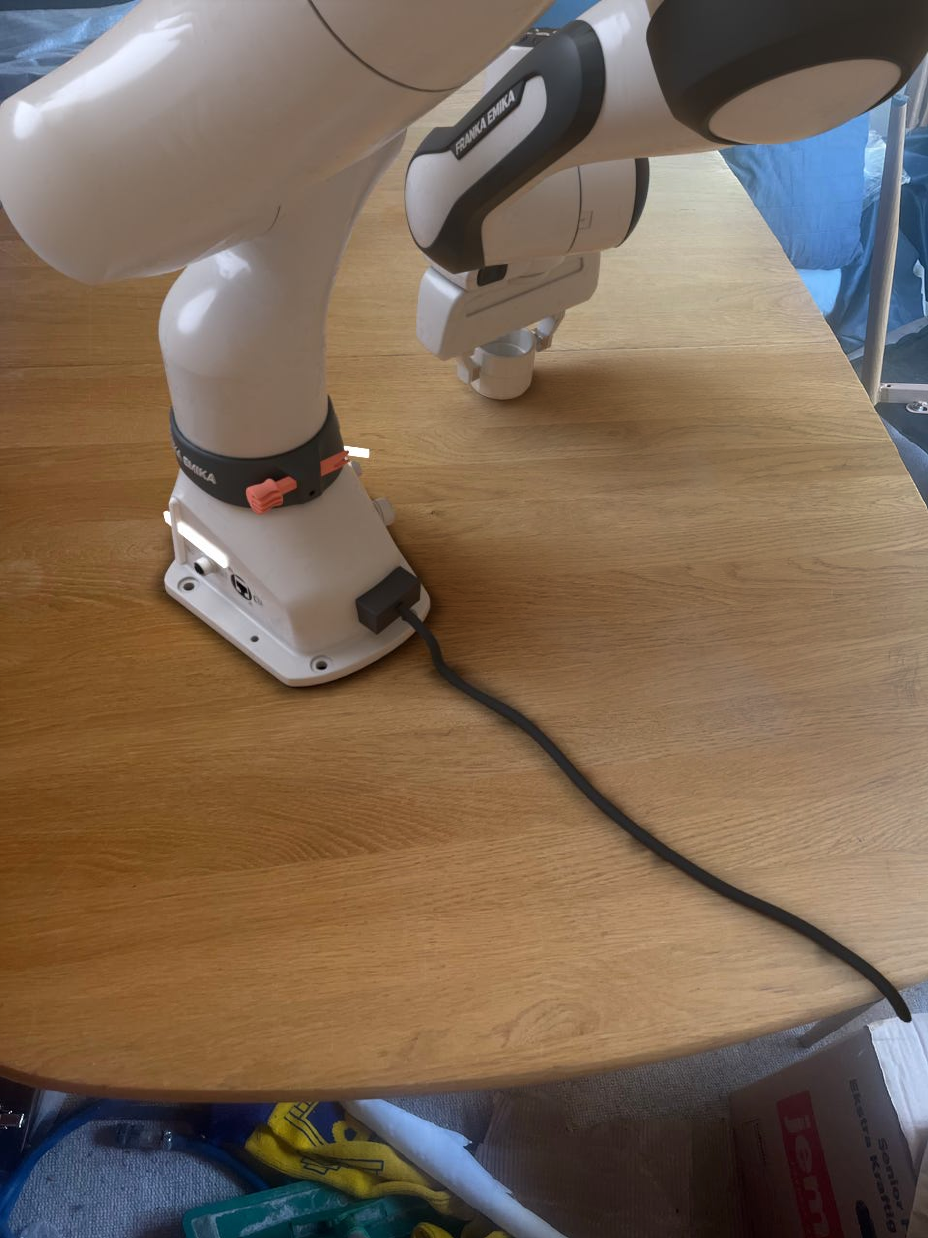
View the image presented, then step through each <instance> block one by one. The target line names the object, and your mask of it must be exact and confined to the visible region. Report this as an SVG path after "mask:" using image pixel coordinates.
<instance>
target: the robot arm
mask: <svg viewBox="0 0 928 1238" xmlns="http://www.w3.org/2000/svg"><path fill="white" fill-rule="evenodd" d="M557 1H558V0H141V1H140V2H138V4H137V5H135V6H134V7H133V8H132V9H130V11H128V12H127V13H126V14H124V16H122V17H121V18H120V19H119V20H118V21H117V22H115V23H114V24H113V25H112V26H111V27H110V28H109V29H108V30H106V31H105V32H104V33H102V34H101V35H100V36H99V37H97V38H96V39H95V40H94V41H92V42H91V43H89V45H87V46H86V47H84V49H82V50H81V51H80V52H79V53H77V54H75V56H73V57H72V58H70V59H69V60H67V61H66V62H65V63H63V64H61V65H60V66H58V67H56V68H55V69H53V70H52V71H50V72H48V73H46V75H44V76H42V77H40V78H39V79H37V80H35V81H34V82H32V83H30V84H28V85H27V86H25V87H24V88H22V89H20V90H19V91H17V92H16V93H14V94H13V95H10V96H9V97H7V98H6V99H5V100H3V102H1V104H0V203H1V205H2V208H3V209H4V211H5V214H6V215H7V217H8V219H9V221H10V222H11V225H12V226H13V228H14V229H15V230H16V232H17V233H18V235H19V236H20V237H21V239H22V240H23V241H24V243H26V245H27V246H28V247H29V248H30V249H31V250H32V251H33V252H34V253H35V254H36V255H37V256H38V257H39V258H40V259H42V261H44V262H45V263H46V264H48V265H49V266H50V267H51V268H53V269H54V270H56V271H57V272H59V273H60V274H62V275H64V276H66V277H67V278H69V279H71V280H73V281H75V282H78V283H80V284H83V285H85V286H90V287H95V286H103V285H110V284H116V283H117V284H118V283H123V282H129V281H135V280H141V279H145V278H150V277H151V278H152V277H157V276H160V275H166V274H170V273H173V272H174V273H175V272H176V271H179V270H182V269H183V271H182V272H181V273H180V275H179V276H178V277H177V279H176V280H175V281H174V283H173V284H172V286H171V288H170V289H169V290H168V292H167V294H166V296H165V298H164V300H163V303H162V306H161V309H160V313H159V319H158V335H157V337H158V342H159V348H160V351H161V357H162V362H163V366H164V371H165V376H166V381H167V387H168V391H169V395H170V400H171V406H170V408H169V434H170V441H171V446H172V448H173V451H174V453H175V459H176V462H177V464H178V466H179V470H178V474H177V476H176V477H177V478H176V481H175V484H174V487H173V490H172V492H171V495H170V498H169V502H168V510H166V511H164V512H163V516H164V520H165V522H166V523H167V524H168V525H169V526H170V527H171V534H172V535H171V536H172V543H173V550H174V557H175V558H174V560H173V561H172V562H171V564H170V566H169V568H168V569H167V571H166V572H165V575H164V578H163V579H164V581H163V582H164V588H165V589H164V590H165V591H166V593H167V594H168V595H169V596H170V597H171V598H173V599H174V600H175V601H177V602H178V603H179V604H180V605H182V606H183V607H184V608H185V609H187V611H189V612H191V613H192V614H193V615H194V616H196V617H197V618H198V619H200V620H201V621H202V622H203V623H205V624H206V625H207V626H208V627H210V628H211V629H213V630H214V631H215V632H216V633H218V634H219V635H220V636H221V637H223V638H224V639H225V640H226V641H228V642H229V643H231V644H232V645H233V646H234V647H236V648H237V649H238V650H240V651H241V652H242V653H244V654H245V655H246V656H247V657H249V658H250V659H251V660H252V661H254V662H255V663H256V664H257V665H259V666H260V667H262V668H263V670H265V671H266V672H267V673H269V674H270V675H272V676H273V677H275V678H276V679H277V680H278V681H280V682H281V683H283V684H284V685H286V686H288V687H292V688H293V687H309V686H316V685H321V684H325V683H328V682H332V681H336V680H338V679H340V678H344V677H347V676H349V675H351V674H353V673H355V672H357V671H359V670H361V669H364V668H365V667H367V666H369V665H371V664H373V663H374V662H375V663H376V662H377V661H378V660H380V659H381V658H383V657H385V656H386V655H388V654H389V653H391V652H392V651H394V650H395V649H397V648H398V647H399V646H400V645H402V644H403V643H405V642H406V641H407V640H408V639H409V638H410V637H411V636H412V635H414V634H415V633H417V634H418V635H419V636H420V637H421V639H422V640H423V642H424V643H425V644H426V646H427V648H428V651H429V653H430V658H431V661H432V663H433V665H434V667H435V669H436V671H437V672H438V673H439V674H440V675H441V676H442V677H443V678H444V679H445V680H446V681H447V682H448V683H449V684H450V685H452V686H453V687H455V688H456V689H458V690H459V691H461V692H462V693H463V694H466V695H467V696H469V697H470V698H472V699H473V700H475V701H477V702H478V703H480V704H482V706H483V705H484V706H485V707H487V708H488V709H490V710H493V711H494V712H496V713H497V714H499V715H502V716H503V717H505V718H507V719H508V720H510V722H512V723H514V724H515V725H516V726H518V727H519V728H520V729H522V730H523V731H524V732H525V733H526V734H527V735H529V736H530V737H531V738H532V739H533V741H535V742H536V743H537V744H538V745H539V746H540V747H541V748H542V749H543V750H544V751H545V752H546V753H547V754H548V755H549V757H550V758H551V759H552V760H553V761H554V762H555V764H556V765H557V766H558V767H559V768H560V769H561V770H562V771H563V773H564V774H565V775H566V776H567V777H568V779H569V780H570V781H571V782H572V783H573V784H574V785H575V786H576V787H577V789H579V790H580V791H581V792H582V794H583V795H585V797H586V798H587V799H589V801H590V802H592V803H593V804H594V805H595V806H596V807H597V808H598V809H599V810H600V811H601V812H602V813H604V814H605V815H606V816H608V818H610V819H611V820H612V821H613V822H614V823H616V824H617V825H618V826H619V827H621V828H622V829H623V830H624V831H626V832H627V833H628V834H630V835H631V836H632V837H633V838H634V839H636V840H637V841H638V842H639V843H641V844H642V845H644V846H645V847H646V848H648V849H649V850H650V851H652V852H654V853H655V854H656V855H658V856H660V857H661V858H662V859H664V860H666V861H667V862H669V863H670V864H671V865H672V866H674V867H676V868H677V869H679V870H680V871H682V872H683V873H685V874H686V875H688V876H690V877H691V878H693V879H694V880H696V881H697V882H700V883H701V884H702V885H704V886H706V887H708V888H709V889H711V890H713V891H714V892H716V893H718V894H720V895H721V896H724V897H725V898H727V899H729V900H732V901H734V902H736V903H737V904H740V905H742V906H744V907H746V908H748V909H751V910H753V911H755V912H756V913H760V914H762V915H763V916H766V917H769V918H770V919H772V920H775V921H777V922H779V923H780V924H783V925H785V926H786V927H789V928H791V929H792V930H794V931H796V932H798V933H800V934H801V935H803V936H804V937H806V938H807V939H810V940H811V941H813V942H814V943H816V944H817V945H819V946H821V947H822V949H825V950H827V952H829V953H831V954H832V955H833V956H835V957H837V958H838V959H840V960H841V961H842V962H844V963H845V964H847V965H849V967H851V968H852V969H854V970H855V971H856V972H858V973H859V974H860V975H862V977H864V978H865V979H867V980H868V982H870V983H871V984H873V986H875V988H876V989H877V990H879V992H880V993H881V995H883V996H884V998H885V999H886V1000H887V1001H888V1003H889V1004H890V1006H891V1007H892V1009H893V1011H894V1013H895V1015H896V1016H897V1017H898V1019H899V1020H900V1021H902V1022H903V1023H905V1024H910V1023H911V1022H912V1021H913V1018H912V1013H911V1011H910V1009H909V1007H908V1005H907V1003H906V1002H905V1000H904V998H903V997H902V995H901V994H900V992H899V991H898V990H897V989H896V987H895V986H894V985H893V984H892V983H891V982H890V981H889V980H888V979H887V978H886V977H885V976H884V975H883V974H882V973H881V972H880V971H879V970H878V969H876V968H875V967H874V966H873V965H872V964H870V962H868V961H866V960H865V959H864V958H862V957H861V956H859V955H858V954H857V953H855V952H854V951H853V950H850V949H849V948H848V947H847V946H845V945H843V944H842V943H841V942H839V941H837V940H836V939H834V938H833V937H832V936H830V935H828V934H827V933H826V932H824V931H822V930H821V929H819V928H818V927H816V926H814V925H813V924H811V923H809V922H807V921H806V920H804V919H803V918H801V917H799V916H797V915H796V914H793V913H791V912H789V911H787V910H785V909H784V908H781V907H779V906H776V905H775V904H772V903H770V902H768V901H766V900H763V899H761V898H759V897H756V896H754V895H752V894H750V893H748V892H746V891H744V890H742V889H739V888H738V887H735V886H733V885H731V884H729V883H727V882H726V881H724V880H722V879H720V878H719V877H716V876H715V875H713V874H711V873H710V872H708V871H707V870H704V869H703V868H702V867H700V866H698V865H697V864H695V863H694V862H692V861H691V860H689V859H687V858H686V857H685V856H684V855H681V854H680V853H678V852H677V851H676V850H673V849H672V848H671V847H669V846H668V845H666V844H665V843H663V842H662V841H660V840H659V839H658V838H656V837H655V836H654V835H652V834H651V833H649V831H647V830H646V829H644V828H642V827H641V826H640V825H639V824H638V823H636V822H635V821H634V820H632V819H631V818H630V817H629V816H627V815H626V814H625V813H624V812H623V811H621V810H620V809H619V808H618V807H616V806H615V805H614V804H613V803H612V802H610V800H608V799H607V798H606V797H605V796H604V795H602V794H601V792H599V790H597V789H596V788H595V787H594V786H593V785H592V784H591V783H590V782H589V781H588V780H587V779H586V777H585V776H584V775H583V774H582V773H581V772H580V771H579V770H578V768H576V767H575V766H574V764H573V763H572V762H571V761H570V759H568V757H567V756H566V755H565V754H564V753H563V751H561V749H560V748H559V747H558V746H557V745H556V744H555V743H554V741H552V739H551V738H549V737H548V736H547V734H545V733H544V732H543V731H542V730H541V729H540V728H539V727H538V726H537V725H536V724H535V723H533V722H532V721H531V720H530V719H528V718H527V717H526V716H525V715H523V714H521V713H520V712H519V711H518V710H516V709H515V708H513V707H511V706H510V705H507V704H506V703H504V702H502V701H500V700H498V699H497V698H495V697H492V696H491V695H488V694H487V693H485V692H483V691H481V690H479V689H478V688H476V687H474V686H472V685H471V684H470V683H468V682H466V681H465V680H463V679H462V678H461V676H459V675H458V674H457V673H455V671H453V670H452V668H451V667H450V666H449V665H448V664H447V663H446V662H445V660H444V658H443V655H442V650H441V647H440V644H439V641H438V639H437V638H436V637H435V635H434V634H433V632H432V631H431V630H430V628H429V627H428V626H427V625H426V624H425V623H424V621H425V620H426V618H427V616H428V614H429V613H430V609H431V597H430V596H429V594H428V592H427V590H426V589H425V587H424V586H423V584H422V580H421V579H420V578H419V577H417V575H416V573H415V572H414V571H413V568H412V567H411V566H410V565H409V563H408V561H407V560H406V558H405V557H404V555H403V553H402V552H401V551H400V549H399V548H398V546H397V544H396V543H395V541H394V539H393V537H392V535H391V534H390V532H389V530H388V528H387V527H388V526H391V525H392V524H393V523H395V519H396V516H395V511H394V507H393V505H392V504H391V502H390V500H389V499H388V498H387V497H384V496H381V497H378V498H375V499H373V500H372V499H371V497H370V494H369V493H368V491H367V490H366V488H365V485H364V484H363V482H362V481H361V479H360V477H362V476H363V468H362V466H361V464H360V462H359V461H358V460H351V461H350V459H349V457H348V456H353V457H360V458H369V457H370V449H369V448H360V447H353V446H346V445H345V444H344V441H343V438H342V437H343V436H342V434H341V433H342V432H341V430H340V429H341V424H340V421H339V418H338V417H339V416H338V415H337V413H336V412H335V408H334V404H333V401H332V399H331V397H330V394H329V393H328V368H327V367H328V360H327V359H328V353H327V352H328V351H327V350H328V349H327V347H328V345H327V343H328V319H329V313H330V305H331V302H332V298H333V292H334V288H335V286H336V281H337V278H338V274H339V271H340V268H341V265H342V262H343V258H344V256H345V253H346V250H347V247H348V245H349V242H350V239H351V237H352V234H353V232H354V229H355V226H356V225H357V223H358V220H359V218H360V215H361V213H362V211H363V209H364V207H365V205H366V203H367V201H368V199H369V198H370V196H371V194H372V193H373V191H374V190H375V188H376V186H377V185H378V184H379V182H380V180H381V179H382V178H383V176H384V175H385V173H386V172H387V171H388V169H389V168H390V167H391V166H392V165H393V163H394V162H395V161H396V159H397V158H398V157H399V155H400V153H401V151H402V149H403V147H404V144H405V141H406V137H407V132H408V128H409V127H411V126H412V125H413V124H415V123H417V122H418V120H420V119H422V118H423V117H425V115H427V114H428V113H430V112H431V111H432V110H434V109H435V108H436V107H438V105H440V104H441V103H442V102H444V101H445V100H447V99H449V97H450V96H452V95H454V94H455V93H456V92H457V91H459V90H460V89H461V88H463V87H464V86H465V85H466V84H468V83H469V82H471V81H472V80H473V79H474V78H476V77H477V76H478V75H479V74H480V73H482V72H483V71H484V70H485V74H484V80H483V84H482V85H483V86H482V92H481V97H480V99H479V101H478V102H477V103H476V104H474V105H473V107H472V108H470V110H469V111H467V113H466V114H464V115H463V116H462V117H461V119H460V120H458V121H457V122H456V123H455V124H454V125H451V126H436V127H434V128H433V129H432V130H430V132H429V133H428V134H427V135H426V136H425V137H424V138H423V140H422V141H421V142H420V143H419V145H418V147H417V148H416V150H415V152H414V153H413V155H412V156H411V158H410V160H409V163H408V165H407V168H406V173H405V180H404V209H405V215H406V216H405V217H406V222H407V226H408V229H409V232H410V236H411V238H412V240H413V242H414V244H415V245H416V246H417V248H418V249H419V250H420V251H421V252H422V256H423V259H424V260H425V262H427V263H428V264H429V265H430V266H429V267H428V268H427V269H426V271H424V273H423V276H422V278H421V280H420V284H419V289H418V294H417V304H416V318H415V320H416V321H415V333H416V339H417V341H418V342H419V344H420V345H421V347H423V348H424V349H425V350H426V351H428V353H430V354H431V355H432V356H434V357H436V358H437V359H439V360H440V361H443V362H445V361H449V360H452V359H453V358H454V360H455V361H456V363H457V367H456V375H457V378H458V379H459V380H460V381H461V382H462V383H464V384H465V385H469V384H471V382H473V381H475V380H478V379H479V378H480V375H479V373H480V370H481V365H479V364H478V363H477V362H474V360H473V359H472V358H470V357H471V356H473V355H474V350H475V348H477V347H479V346H482V345H484V344H486V343H489V342H491V341H493V340H496V339H498V338H501V337H503V336H505V335H508V334H510V333H512V332H515V331H517V330H519V329H522V328H524V327H526V328H527V327H528V326H532V325H534V324H536V323H537V325H536V327H535V328H532V329H530V331H532V332H533V334H534V336H535V337H536V339H537V343H536V351H535V352H537V353H540V352H543V351H545V350H547V349H550V348H552V345H553V337H554V334H555V333H556V331H557V330H558V328H559V326H560V325H561V324H562V322H563V320H564V318H565V317H566V310H569V309H571V308H573V307H575V306H578V305H580V304H583V303H585V302H588V301H589V300H590V299H592V297H593V295H594V294H595V292H596V291H597V288H598V286H599V278H600V271H601V259H602V258H601V255H602V254H601V253H602V252H603V251H607V250H610V249H616V248H619V247H621V246H622V244H623V243H625V242H626V241H627V240H628V239H629V237H630V236H631V235H632V233H633V232H634V231H635V228H636V227H637V225H638V223H639V221H640V219H641V217H642V215H643V211H644V209H645V206H646V203H647V199H648V194H649V187H650V176H651V175H650V171H651V170H650V160H649V158H661V157H670V156H672V157H673V156H683V155H693V154H702V153H709V152H716V151H720V150H721V151H722V150H724V149H726V150H727V149H729V148H733V147H735V146H736V147H737V146H756V145H757V146H758V145H762V146H763V145H766V146H770V145H771V146H772V145H774V146H775V145H783V144H790V143H795V142H799V141H804V140H807V139H811V138H814V137H817V136H820V135H822V134H825V133H828V132H830V131H833V130H835V129H837V128H839V127H841V126H843V125H844V124H846V123H848V122H850V121H852V120H853V119H855V118H858V117H860V116H862V115H864V114H866V113H868V112H870V111H872V110H874V109H876V108H878V107H879V106H880V105H882V104H884V103H885V102H887V101H888V100H890V99H892V98H893V97H894V96H895V95H896V94H897V93H899V92H900V91H901V90H902V89H903V88H904V87H905V86H906V85H907V83H909V81H910V79H912V76H913V75H914V74H915V72H916V71H917V69H918V68H919V67H920V65H921V64H922V62H923V61H924V59H925V58H926V56H927V54H928V0H600V1H598V2H597V3H596V4H594V5H593V6H591V7H590V8H588V9H587V10H585V11H584V12H583V13H582V14H580V15H578V17H576V18H575V19H573V20H571V21H569V22H567V23H566V24H564V25H563V26H562V27H558V28H557V27H556V28H555V27H545V26H544V27H534V25H536V24H537V23H538V22H539V21H540V20H541V18H542V17H543V16H545V14H547V12H548V11H550V10H551V8H552V7H553V6H554V5H555V4H556V2H557ZM469 356H470V357H469ZM322 667H323V668H325V669H319V668H322Z"/></svg>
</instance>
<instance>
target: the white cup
mask: <svg viewBox="0 0 928 1238" xmlns="http://www.w3.org/2000/svg"><path fill="white" fill-rule="evenodd" d="M536 343H537V339H536V337H535V336H534V334H533V332H532V331H531V329H529V328H527V326H526V327H524V328H522V329H519V330H517V331H515V332H512V333H510V334H508V335H505V336H503V337H501V338H498V339H496V340H493V341H491V342H489V343H486V344H484V345H482V346H479V347H477V348H475V350H474V355H473V356H471V357H470V356H469V357H470V358H472V359H473V360H474V362H477V363H478V364H479V365H481V370H480V373H479V375H480V378H479V379H478V380H475V381H473V382H471V383H470V385H471V387H472V388H473V389H474V391H476V393H478V394H480V395H481V396H483V397H485V398H489V399H491V400H492V399H493V400H501V401H503V400H511V399H512V400H513V399H516V398H517V397H518V398H519V397H520V396H521V395H523V394H524V393H525V392H526V391H527V390H528V388H530V386H531V384H532V378H533V372H534V371H533V370H534V365H535V357H536V352H537V351H536Z"/></svg>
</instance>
